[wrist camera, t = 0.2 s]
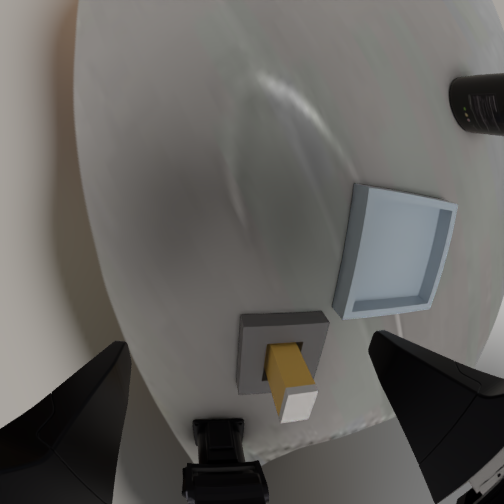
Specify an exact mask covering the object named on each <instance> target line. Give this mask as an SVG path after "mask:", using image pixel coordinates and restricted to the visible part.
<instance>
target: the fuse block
mask: <svg viewBox="0 0 504 504" xmlns="http://www.w3.org/2000/svg"><path fill="white" fill-rule="evenodd" d="M329 323H330V322H329V321H328V319H327V318H326V316H325V315H324V314H323V312H322V311H318V312H300V313H277V314H241V317H240V331H239V347H238V362H237V378H236V383H237V389H238V395H245V394H260V393H271V389H270V386H269V383H268V379H267V376H266V372H265V369H264V362H265V355H266V347H267V344H275V343H290V342H296V344H297V346H298V348H299V350H300V352H301V354H302V357H303V359H304V361H305V363H306V365H307V367H308V369H309V371H310V374H311V376H312V378H313V380H314V376H315V373H316V370H317V366H318V363H319V360H320V356H321V353H322V349H323V345H324V342H325V338H326V334H327V331H328V327H329Z"/></svg>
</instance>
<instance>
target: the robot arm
mask: <svg viewBox="0 0 504 504" xmlns="http://www.w3.org/2000/svg"><path fill="white" fill-rule="evenodd" d="M368 352H369V355H370V358H371V361H372V363H373V366H374V368H375V371H376V373H377V376H378V379H379V381H380V384H381V386H382V388H383V390H384V392H385V394H386V396H387V398H388V400H389V402H390V404H391V406H392V408H393V410H394V412H395V414H396V416H397V418H398V420H399V422H400V425H401V426H402V429H403V431H404V433H405V435H406V437H407V439H408V442H409V444H410V446H411V448H412V451H413V453H414V455H415V457H416V459H417V462H418V464H419V467H420V469H421V471H422V474H423V476H424V479H425V481H426V483H427V486H428V488H429V490H430V493H431V496H432V498H433V501H434V503H435V504H437V503H439V502H440V501H442V500H443V499H445V498H446V497H448V496H449V495H451V494H452V493H454V492H455V491H456V490H458V489H459V488H460V487H462V486H463V485H464V484H466V483H467V482H469V483H470V485H471V486H472V488H471V489H470V490H469V491H467V492H466V493H465V494H464V495H462V496H461V497H460V498H458V499H457V503H456V504H504V379H502V378H499V377H496V376H493V375H490V374H487V373H484V372H481V371H478V370H476V369H473V368H470V367H468V366H465V365H463V364H461V363H458V362H456V361H455V362H454V360H451V359H449V358H447V357H444V356H442V355H440V354H437V353H435V352H433V351H431V350H428V349H426V348H424V347H421V346H419V345H417V344H415V343H412V342H410V341H408V340H406V339H403V338H401V337H399V336H397V335H394V334H392V333H390V332H388V331H385V330H381V331H376V332H375V333H374V334H373V337H372V340H371V343H370V345H369V349H368ZM130 375H131V357H130V353H129V348H128V344H127V343H126V342H125V341H114V342H113V343H112V344H110V345H109V346H108V347H107V348H105V349H104V350H103V351H102V352H100V353H99V354H98V355H97V356H96V357H94V358H93V359H92V360H90V361H89V362H88V363H87V364H85V365H84V366H83V367H82V368H80V369H79V370H78V371H77V372H76V373H74V374H73V375H72V376H71V377H69V378H68V379H67V380H66V381H65V382H63V383H62V384H61V385H60V386H59V387H57V388H56V389H55V390H54V391H52V394H51V393H50V394H49V395H47V396H46V397H45V398H44V399H43V400H41V401H40V402H39V403H38V404H36V405H35V406H34V407H32V408H31V409H29V410H28V411H26V412H25V413H24V414H23V415H21V416H19V417H18V418H16V419H15V420H13V421H11V422H10V423H8V424H7V425H5V426H4V427H2V428H1V429H0V504H112V499H113V489H114V482H115V474H116V467H117V460H118V453H119V447H120V442H121V436H122V430H123V425H124V420H125V415H126V410H127V404H128V396H129V384H130ZM193 430H194V437H195V444H196V446H198V459H199V464H192V463H187V467H185V468H183V484H182V496H183V497H184V498H186V499H187V502H189V504H266V503H268V502H269V492H268V486H267V482H266V480H265V477H264V474H263V471H262V468H261V465H260V462H259V460H257V461H253V462H245V458H244V452H243V447H242V439H243V430H244V420H243V419H233V420H195V421H193Z"/></svg>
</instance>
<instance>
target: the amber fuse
mask: <svg viewBox="0 0 504 504" xmlns="http://www.w3.org/2000/svg"><path fill="white" fill-rule="evenodd" d="M264 369H265V372H266V376H267V379H268V383H269V386H270V389H271V393H272V396H273V399H274V403H275V406H276V409H277V413H278V416H279V419H280V423H287V422H294V421H301V420H307V419H308V418H309V416H310V413H311V410H312V408H313V405H314V402H315V400H316V397H317V394H318V389H317V386H316V384H315V382H314V380H313V378H312V376H311V374H310V371H309V369H308V367H307V365H306V363H305V361H304V359H303V357H302V354H301V352H300V350H299V348H298V346H297V344H296V342H290V343H275V344H267V347H266V355H265V362H264Z"/></svg>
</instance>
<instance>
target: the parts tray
mask: <svg viewBox="0 0 504 504" xmlns="http://www.w3.org/2000/svg"><path fill="white" fill-rule="evenodd" d="M457 208H458V204H455V203H452V202H449V201H446V200H443V199H439V198H434V197H430V196H425V195H420V194H415V193H410V192H404V191H399V190H393V189H388V188H382V187H376V186H369V185H363V184H356V183H354V188H353V196H352V203H351V210H350V216H349V223H348V229H347V235H346V240H345V246H344V251H343V257H342V262H341V267H340V272H339V277H338V282H337V286H336V291H335V295H334V300H333V304H332V307H333V308H334V310H335V311H336V312H337V314H338V315H339V316H340V318H341V319H342V320H347V319H357V318H367V317H376V316H384V315H392V314H399V313H406V312H413V311H420V310H426V309H430V307H431V305H432V302H433V299H434V296H435V293H436V290H437V287H438V284H439V281H440V278H441V274H442V271H443V268H444V264H445V261H446V257H447V253H448V249H449V245H450V241H451V237H452V232H453V228H454V223H455V218H456V213H457Z"/></svg>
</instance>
